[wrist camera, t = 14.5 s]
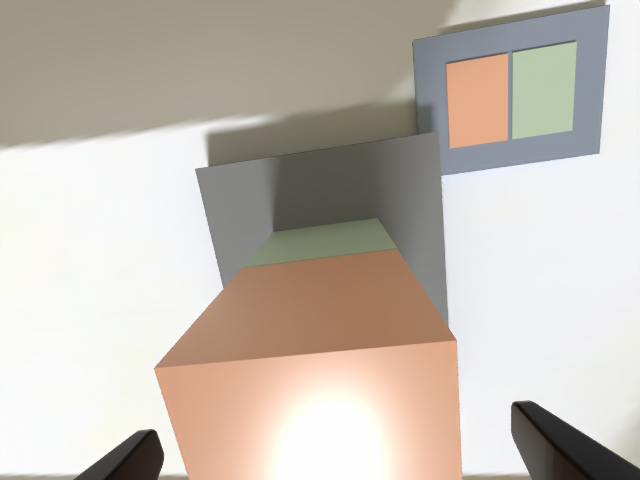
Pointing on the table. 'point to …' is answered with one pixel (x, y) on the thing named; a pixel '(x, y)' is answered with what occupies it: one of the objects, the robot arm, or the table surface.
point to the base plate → (334, 202)
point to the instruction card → (514, 90)
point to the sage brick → (322, 242)
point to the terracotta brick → (317, 376)
